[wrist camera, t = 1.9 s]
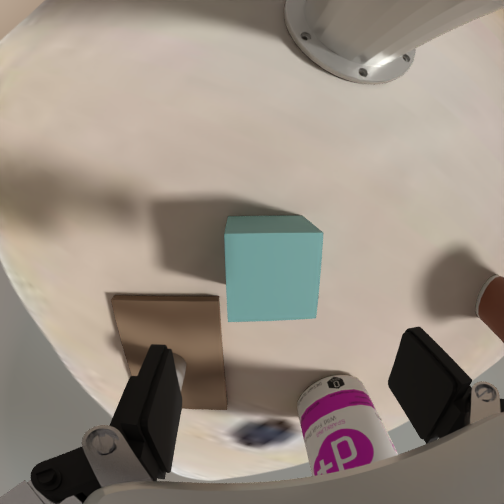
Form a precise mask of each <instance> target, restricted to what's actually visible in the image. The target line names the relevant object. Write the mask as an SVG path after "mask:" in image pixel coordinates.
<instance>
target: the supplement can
mask: <svg viewBox="0 0 504 504" xmlns="http://www.w3.org/2000/svg"><path fill="white" fill-rule="evenodd" d="M297 411H298V415H299V420H300V424H301V428H302V433H303V437H304V442H305V446H306V450H307V455H308V459H309V463H310V468H311V472H312V476H317V475H323V474H328V473H333V472H338V471H342V470H347V469H351V468H355V467H359V466H363V465H367V464H370V463H374V462H377V461H380V460H384V459H387V458H390V457H393V456H396V455H398V453H397V451H396V449H395V447H394V445H393V443H392V441H391V439H390V437H389V434H388V432H387V430H386V428H385V426H384V424H383V422H382V420H381V418H380V416H379V414H378V412H377V410H376V408H375V406H374V404H373V402H372V400H371V398H370V397H369V395H368V393H367V391H366V389H365V387H364V385H363V383H362V382H361V381H360V380H359V379H358V378H356V377H353V376H349V375H333V376H330V377H326V378H323V379H321V380H319V381H317V382H315V383H314V384H312V385H311V386H310V387H309V388H308V389H307V390H306V391H305V392H304V393H302V395H301V397H300V398H299V400H298V403H297Z"/></svg>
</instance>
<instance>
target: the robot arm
mask: <svg viewBox="0 0 504 504" xmlns="http://www.w3.org/2000/svg"><path fill="white" fill-rule="evenodd" d="M503 8H504V0H286V3H285V7H284V18H285V22H286V26H287V29H288V31H289V33H290V35H291V37H292V38H293V40H294V42H295V43H296V44H297V45H298V47H299V48H300V49H301V50H302V52H304V53H305V54H306V55H307V56H308V57H309V58H310V59H311V60H312V61H313V62H315V63H316V64H318V65H319V66H320V67H322V68H323V69H325V70H327V71H328V72H330V73H332V74H334V75H336V76H338V77H341V78H343V79H346V80H348V81H352V82H356V83H361V84H373V85H375V84H383V83H387V82H390V81H392V80H395V79H397V78H399V77H400V76H402V75H404V74H405V73H406V72H407V71H408V70H409V68H410V67H411V65H412V63H413V61H414V57H415V48H417V47H419V46H421V45H423V44H425V43H427V42H429V41H431V40H432V39H434V38H436V37H438V36H440V35H443V34H445V33H447V32H449V31H451V30H453V29H455V28H457V27H459V26H462V25H464V24H466V23H468V22H471V21H473V20H475V19H478V18H480V17H482V16H485V15H487V14H490V13H492V12H495V11H498V10H500V9H503ZM302 38H304V39H306V40H303V39H302ZM359 73H360V74H361V75H360V74H359ZM471 382H472V379H471V378H470V377H469V376H468V375H467V374H466V373H465V372H464V371H463V370H462V369H461V368H460V367H459V366H458V364H457V363H456V362H455V361H454V360H453V359H452V358H451V357H450V356H449V355H448V354H447V353H446V352H445V351H444V350H443V349H442V348H441V347H440V346H439V345H438V344H437V343H436V342H435V341H434V340H433V339H432V338H431V337H430V336H429V335H428V334H427V333H426V332H425V331H424V330H423V329H422V328H420V327H414V328H409V329H407V330H406V331H405V333H404V334H403V335H402V339H401V342H400V346H399V349H398V352H397V355H396V359H395V362H394V365H393V368H392V371H391V374H390V377H389V380H388V385H389V388H390V389H391V391H392V393H393V394H394V396H395V397H396V399H397V401H398V402H399V404H400V405H401V407H402V409H403V410H404V412H405V414H406V415H407V417H408V418H409V420H410V422H411V423H412V425H413V427H414V428H415V430H416V432H417V433H418V435H419V437H420V438H421V439H424V441H425V442H426V445H423V446H421V447H418V448H415V449H413V450H410V451H408V452H405V453H402V454H399V455H396V456H393V457H390V458H387V459H384V460H380V461H377V462H374V463H370V464H367V465H363V466H359V467H355V468H351V469H347V470H342V471H338V472H333V473H328V474H323V475H317V476H311V477H305V478H297V479H290V480H281V481H270V482H254V483H191V482H169V481H157V478H158V479H165V474H166V472H167V473H169V472H171V467H172V461H173V455H174V449H175V443H176V437H177V432H178V426H179V421H180V415H181V410H182V395H181V391H180V386H179V382H178V377H177V372H176V368H175V363H174V357H173V352H172V349H167V346H166V345H161V344H151V345H150V347H149V350H148V352H147V354H146V357H145V359H144V361H143V364H142V366H141V368H140V371H139V373H138V376H131V377H130V379H129V381H128V383H127V385H126V387H125V390H124V392H123V394H122V397H121V399H120V401H119V404H118V406H117V409H116V411H115V413H114V416H113V418H112V421H111V423H110V426H108V425H99V426H95V427H93V428H91V429H89V430H88V431H87V432H86V433H85V434H84V436H83V438H82V447H80V448H77V449H75V450H72V451H70V452H67V453H65V454H62V455H59V456H57V457H54V458H52V459H49V460H46V461H43V462H41V463H39V464H37V465H36V466H35V467H34V468H33V470H32V472H31V480H30V481H29V482H26V481H25V480H24V481H23V482H21V483H20V484H19V485H17V486H16V487H14V488H13V489H11V490H10V491H9V492H7V493H6V494H4V495H3V496H1V497H0V504H504V399H500V397H499V392H498V390H497V388H496V387H495V386H494V385H492V384H490V383H488V382H482V381H481V382H477V383H475V384H474V385H473V387H472V388H471V386H470V384H471ZM438 437H439V439H438Z"/></svg>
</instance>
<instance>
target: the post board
mask: <svg viewBox="0 0 504 504" xmlns="http://www.w3.org/2000/svg"><path fill="white" fill-rule="evenodd" d="M111 302H112V307H113V311H114V315H115V319H116V323H117V327H118V331H119V335H120V338H121V342H122V346H123V349H124V352H125V356H126V359H127V362H128V366H129V369H130V372H131V375H132V376H138V373H139V371H140V368H141V366H142V364H143V361H144V359H145V357H146V354H147V352H148V350H149V347H150V345H151V344H161V345H166V346H167V349H172V352H173V357H174V363H175V368H176V372H177V377H178V382H179V386H180V391H181V395H182V408H185V409H209V410H227V395H226V384H225V372H224V360H223V347H222V334H221V319H220V304H219V296H127V295H115V296H114V297H113V298H112V299H111Z"/></svg>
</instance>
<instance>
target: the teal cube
mask: <svg viewBox="0 0 504 504" xmlns="http://www.w3.org/2000/svg"><path fill="white" fill-rule="evenodd" d="M224 240H225V268H226V292H227V313H228V322H248V321H276V320H296V319H312V318H316V314H317V304H318V294H319V284H320V272H321V260H322V245H323V232H322V231H321V230H319V229H318V228H317V227H316V226H315V225H313V224H312V223H311V222H310V221H308V220H307V219H306V218H305V217H303V216H228V218H227V223H226V228H225V233H224Z"/></svg>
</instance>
